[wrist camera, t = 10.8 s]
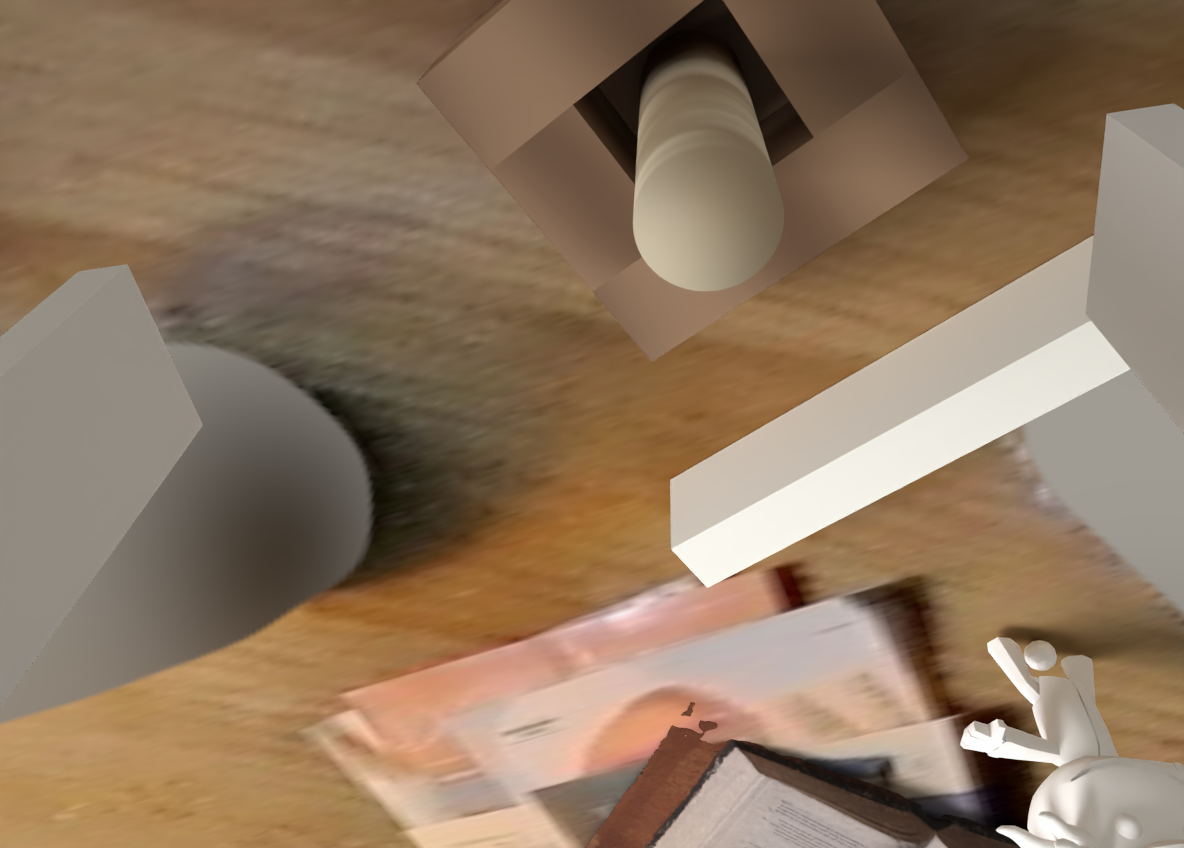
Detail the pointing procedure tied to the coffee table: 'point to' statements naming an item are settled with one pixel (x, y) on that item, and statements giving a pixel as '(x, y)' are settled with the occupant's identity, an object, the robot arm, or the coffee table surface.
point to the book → (768, 805)
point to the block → (611, 118)
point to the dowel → (702, 168)
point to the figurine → (1079, 763)
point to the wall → (895, 420)
